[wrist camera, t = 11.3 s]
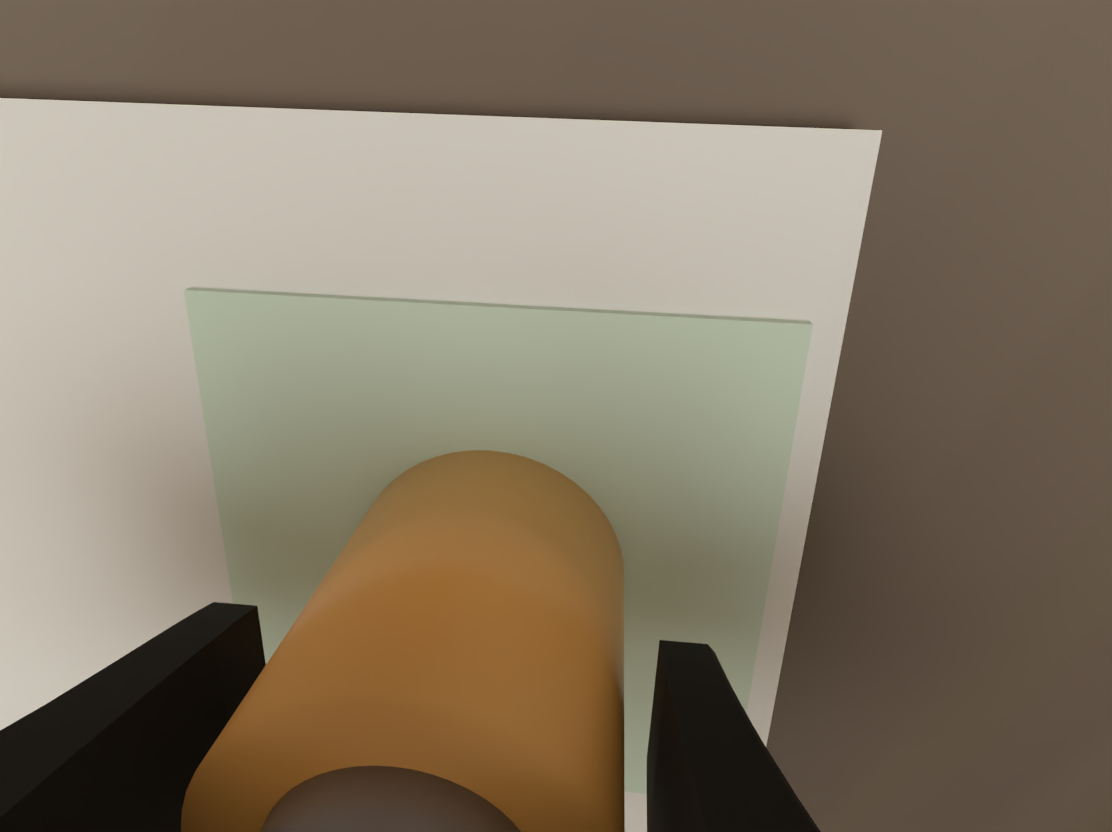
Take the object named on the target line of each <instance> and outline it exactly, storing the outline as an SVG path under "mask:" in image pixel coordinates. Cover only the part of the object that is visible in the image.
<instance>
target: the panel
mask: <svg viewBox="0 0 1112 832" xmlns="http://www.w3.org/2000/svg"><path fill="white" fill-rule="evenodd" d="M881 134H882V130H855V129H828V128H801V127H773V126H746V125H719V124H692V123H665V122H638V121H611V120H583V119H556V118H529V117H502V116H475V115H448V114H421V113H393V112H366V111H339V110H312V109H285V108H258V107H231V106H203V105H176V104H149V103H122V102H95V101H68V100H41V99H13V98H0V730H2V729H4V728H5V727H7V726H9V725H11V724H12V723H14V722H16V721H17V720H19V719H21V718H23V717H24V716H26V715H28V714H30V713H31V712H33V711H35V710H37V709H38V708H40V707H42V706H44V705H45V704H47V703H49V702H50V701H52V700H54V699H55V698H57V697H58V696H60V695H62V694H63V693H65V692H67V691H68V690H70V689H71V688H73V687H75V686H76V685H78V684H79V683H81V682H83V681H84V680H86V679H88V678H89V677H91V676H92V675H94V674H96V673H97V672H99V671H101V670H102V669H104V668H105V667H107V666H109V665H110V664H112V663H114V662H115V661H117V660H118V659H120V658H122V657H123V656H125V655H126V654H128V653H130V652H131V651H133V650H134V649H136V648H138V647H139V646H141V645H142V644H144V643H146V642H147V641H149V640H150V639H152V638H154V637H155V636H157V635H158V634H160V633H162V632H163V631H165V630H166V629H168V628H170V627H171V626H173V625H175V624H176V623H178V622H180V621H181V620H183V619H185V618H186V617H188V616H190V615H191V614H193V613H195V612H196V611H198V610H200V609H202V608H204V607H205V606H207V605H209V604H211V603H213V602H219V603H231V604H243V605H255V606H257V607H258V614H259V621H260V628H261V635H262V642H263V649H264V656H265V663H266V664H267V663H268V661H269V660H270V658H271V657H272V655H273V654H274V652H275V651H276V649H277V648H278V646H279V645H280V643H281V642H282V640H283V639H284V637H285V636H286V634H287V633H288V631H289V630H290V628H291V627H292V625H293V624H294V622H295V621H296V619H297V617H298V616H299V614H300V613H301V611H302V610H303V608H304V607H305V605H306V604H307V602H308V601H309V599H310V598H311V596H312V595H313V593H314V592H315V590H316V589H317V587H318V586H319V584H320V583H321V581H322V580H323V578H324V577H325V575H326V574H327V572H328V571H329V569H330V568H331V566H332V565H333V563H334V562H335V560H336V559H337V557H338V556H339V554H340V553H341V551H342V550H343V548H344V547H345V545H346V544H347V542H348V541H349V539H350V538H351V536H352V535H353V533H354V532H355V530H356V529H357V527H358V526H359V524H360V523H361V521H362V520H363V518H364V517H365V515H366V514H367V512H368V511H369V509H370V508H371V506H372V505H373V503H374V502H375V500H376V499H377V498H378V496H379V495H380V493H381V492H382V491H383V490H384V489H385V488H386V487H387V486H388V485H389V484H390V483H391V482H392V481H393V480H394V479H396V478H397V477H398V476H399V475H401V474H402V473H403V472H405V471H406V470H408V469H410V468H412V467H413V466H415V465H417V464H419V463H421V462H424V461H426V460H429V459H431V458H434V457H437V456H441V455H445V454H449V453H453V452H461V451H469V450H490V451H498V452H506V453H511V454H515V455H519V456H523V457H527V458H529V459H532V460H535V461H537V462H540V463H543V464H545V465H547V466H549V467H551V468H553V469H554V470H556V471H558V472H560V473H562V474H563V475H565V476H566V477H568V478H569V479H570V480H572V481H573V482H575V483H576V484H577V485H578V486H579V487H581V488H582V489H583V490H584V491H585V492H586V493H587V494H589V496H590V497H591V498H592V499H593V500H594V501H595V502H596V504H597V505H598V506H599V507H600V508H601V510H602V511H603V513H604V514H605V516H606V517H607V519H608V520H609V522H610V524H611V526H612V528H613V530H614V532H615V534H616V536H617V539H618V543H619V546H620V549H621V552H622V559H623V565H624V811H625V832H647V751H648V742H649V733H650V723H651V714H652V705H653V696H654V687H655V677H656V668H657V659H658V650H659V640H667V641H678V642H690V643H702V644H708V645H709V646H710V647H711V648H712V650H713V651H714V652H715V653H716V656H717V658H718V660H719V662H720V664H721V666H722V668H723V670H724V672H725V674H726V676H727V678H728V680H729V682H730V684H731V686H732V688H733V690H734V692H735V694H736V695H737V697H738V699H739V701H740V703H741V705H742V707H743V708H744V710H745V712H746V714H747V715H748V717H749V719H750V721H751V723H752V724H753V726H754V728H755V730H756V731H757V733H758V735H759V736H760V738H761V740H762V741H763V743H764V745H765V746H766V745H767V740H768V735H769V729H770V724H771V719H772V713H773V708H774V703H775V697H776V692H777V687H778V682H779V676H780V671H781V666H782V660H783V655H784V650H785V644H786V639H787V634H788V628H789V623H790V618H791V612H792V607H793V602H794V597H795V591H796V586H797V581H798V575H799V570H800V565H801V559H802V554H803V549H804V543H805V538H806V533H807V527H808V522H809V517H810V511H811V506H812V501H813V496H814V490H815V485H816V480H817V474H818V469H819V464H820V458H821V453H822V448H823V442H824V437H825V432H826V426H827V421H828V416H829V411H830V405H831V400H832V395H833V389H834V384H835V379H836V373H837V368H838V363H839V357H840V352H841V347H842V341H843V336H844V331H845V326H846V320H847V315H848V310H849V304H850V299H851V294H852V288H853V283H854V278H855V272H856V267H857V262H858V256H859V251H860V246H861V240H862V235H863V230H864V225H865V219H866V214H867V209H868V203H869V198H870V193H871V187H872V182H873V177H874V171H875V166H876V161H877V155H878V150H879V145H880V140H881Z"/></svg>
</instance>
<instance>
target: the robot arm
mask: <svg viewBox="0 0 1112 832" xmlns="http://www.w3.org/2000/svg"><path fill="white" fill-rule="evenodd" d="M265 666H266V663H265V656H264V649H263V642H262V635H261V628H260V621H259V614H258V607H257V606H255V605H243V604H231V603H219V602H213V603H211V604H209V605H207V606H205V607H204V608H202V609H200V610H198V611H196V612H195V613H193V614H191V615H190V616H188V617H186V618H185V619H183V620H181V621H180V622H178V623H176V624H175V625H173V626H171V627H170V628H168V629H166V630H165V631H163V632H162V633H160V634H158V635H157V636H155V637H154V638H152V639H150V640H149V641H147V642H146V643H144V644H142V645H141V646H139V647H138V648H136V649H134V650H133V651H131V652H130V653H128V654H126V655H125V656H123V657H122V658H120V659H118V660H117V661H115V662H114V663H112V664H110V665H109V666H107V667H105V668H104V669H102V670H101V671H99V672H97V673H96V674H94V675H92V676H91V677H89V678H88V679H86V680H84V681H83V682H81V683H79V684H78V685H76V686H75V687H73V688H71V689H70V690H68V691H67V692H65V693H63V694H62V695H60V696H58V697H57V698H55V699H54V700H52V701H50V702H49V703H47V704H45V705H44V706H42V707H40V708H38V709H37V710H35V711H33V712H31V713H30V714H28V715H26V716H24V717H23V718H21V719H19V720H17V721H16V722H14V723H12V724H11V725H9V726H7V727H5V728H4V729H2V730H0V832H181V818H182V807H183V803H184V799H185V795H186V791H187V788H188V786H189V784H190V782H191V780H192V777H193V775H194V773H195V771H196V769H197V768H198V766H199V765H200V763H201V762H202V760H203V759H204V757H205V756H206V754H207V753H208V751H209V750H210V748H211V747H212V745H213V744H214V742H215V741H216V739H217V738H218V736H219V735H220V733H221V732H222V730H223V729H224V727H225V726H226V724H227V723H228V721H229V720H230V718H231V717H232V715H233V714H234V712H235V711H236V709H237V708H238V706H239V705H240V703H241V702H242V700H243V699H244V697H245V696H246V694H247V693H248V691H249V690H250V688H251V687H252V685H253V684H254V682H255V681H256V679H257V678H258V676H259V675H260V673H261V672H262V670H263V669H264V667H265ZM647 832H820V830H819V829H818V827H817V826H816V824H815V823H814V821H813V820H812V818H811V817H810V815H809V814H808V812H807V811H806V809H805V808H804V806H803V805H802V803H801V802H800V800H799V799H798V797H797V796H796V794H795V793H794V791H793V790H792V788H791V786H790V785H789V783H788V782H787V780H786V778H785V777H784V775H783V774H782V772H781V770H780V769H779V767H778V766H777V764H776V763H775V761H774V759H773V758H772V756H771V755H770V753H769V751H768V750H767V748H766V746H765V745H764V743H763V741H762V740H761V738H760V736H759V735H758V733H757V731H756V730H755V728H754V726H753V724H752V723H751V721H750V719H749V717H748V715H747V714H746V712H745V710H744V708H743V707H742V705H741V703H740V701H739V699H738V697H737V695H736V694H735V692H734V690H733V688H732V686H731V684H730V682H729V680H728V678H727V676H726V674H725V672H724V670H723V668H722V666H721V664H720V662H719V660H718V658H717V656H716V653H715V652H714V651H713V650H712V648H711V647H710V646H709V645H708V644H702V643H690V642H678V641H667V640H659V650H658V659H657V668H656V677H655V687H654V696H653V705H652V714H651V723H650V733H649V742H648V751H647Z"/></svg>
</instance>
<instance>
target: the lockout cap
mask: <svg viewBox="0 0 1112 832" xmlns="http://www.w3.org/2000/svg"><path fill="white" fill-rule="evenodd" d="M181 832H625V811H624V565H623V559H622V552H621V549H620V546H619V543H618V539H617V536H616V534H615V532H614V530H613V528H612V526H611V524H610V522H609V520H608V519H607V517H606V516H605V514H604V513H603V511H602V510H601V508H600V507H599V506H598V505H597V504H596V502H595V501H594V500H593V499H592V498H591V497H590V496H589V494H587V493H586V492H585V491H584V490H583V489H582V488H581V487H579V486H578V485H577V484H576V483H575V482H573V481H572V480H570V479H569V478H568V477H566V476H565V475H563V474H562V473H560V472H558V471H556V470H554V469H553V468H551V467H549V466H547V465H545V464H543V463H540V462H537V461H535V460H532V459H529V458H527V457H523V456H519V455H515V454H511V453H506V452H498V451H490V450H469V451H461V452H453V453H449V454H445V455H441V456H437V457H434V458H431V459H429V460H426V461H424V462H421V463H419V464H417V465H415V466H413V467H412V468H410V469H408V470H406V471H405V472H403V473H402V474H401V475H399V476H398V477H397V478H396V479H394V480H393V481H392V482H391V483H390V484H389V485H388V486H387V487H386V488H385V489H384V490H383V491H382V492H381V493H380V495H379V496H378V498H377V499H376V500H375V502H374V503H373V505H372V506H371V508H370V509H369V511H368V512H367V514H366V515H365V517H364V518H363V520H362V521H361V523H360V524H359V526H358V527H357V529H356V530H355V532H354V533H353V535H352V536H351V538H350V539H349V541H348V542H347V544H346V545H345V547H344V548H343V550H342V551H341V553H340V554H339V556H338V557H337V559H336V560H335V562H334V563H333V565H332V566H331V568H330V569H329V571H328V572H327V574H326V575H325V577H324V578H323V580H322V581H321V583H320V584H319V586H318V587H317V589H316V590H315V592H314V593H313V595H312V596H311V598H310V599H309V601H308V602H307V604H306V605H305V607H304V608H303V610H302V611H301V613H300V614H299V616H298V617H297V619H296V621H295V622H294V624H293V625H292V627H291V628H290V630H289V631H288V633H287V634H286V636H285V637H284V639H283V640H282V642H281V643H280V645H279V646H278V648H277V649H276V651H275V652H274V654H273V655H272V657H271V658H270V660H269V661H268V663H267V664H266V666H265V667H264V669H263V670H262V672H261V673H260V675H259V676H258V678H257V679H256V681H255V682H254V684H253V685H252V687H251V688H250V690H249V691H248V693H247V694H246V696H245V697H244V699H243V700H242V702H241V703H240V705H239V706H238V708H237V709H236V711H235V712H234V714H233V715H232V717H231V718H230V720H229V721H228V723H227V724H226V726H225V727H224V729H223V730H222V732H221V733H220V735H219V736H218V738H217V739H216V741H215V742H214V744H213V745H212V747H211V748H210V750H209V751H208V753H207V754H206V756H205V757H204V759H203V760H202V762H201V763H200V765H199V766H198V768H197V769H196V771H195V773H194V775H193V777H192V780H191V782H190V784H189V786H188V788H187V791H186V795H185V799H184V803H183V807H182V818H181Z"/></svg>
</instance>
